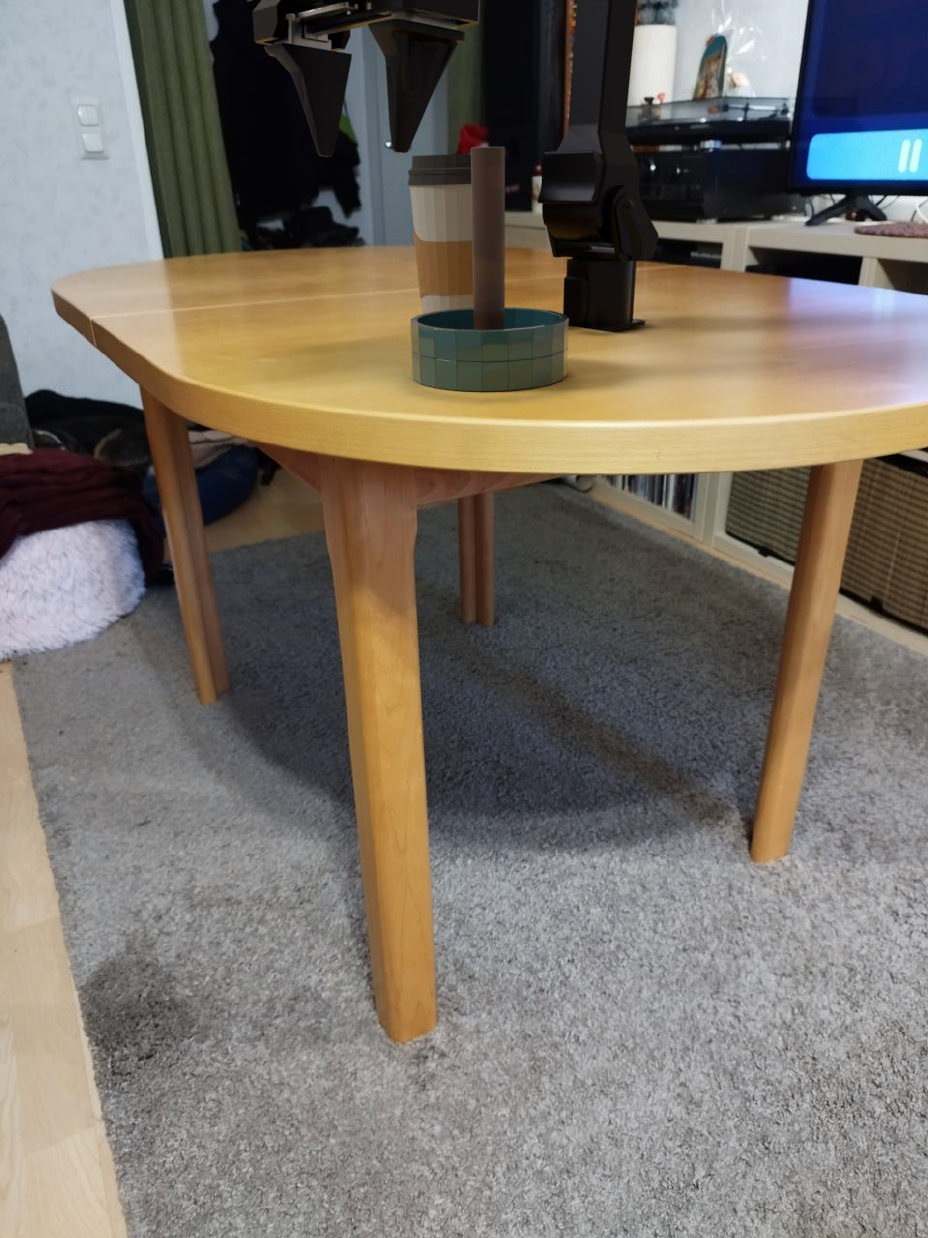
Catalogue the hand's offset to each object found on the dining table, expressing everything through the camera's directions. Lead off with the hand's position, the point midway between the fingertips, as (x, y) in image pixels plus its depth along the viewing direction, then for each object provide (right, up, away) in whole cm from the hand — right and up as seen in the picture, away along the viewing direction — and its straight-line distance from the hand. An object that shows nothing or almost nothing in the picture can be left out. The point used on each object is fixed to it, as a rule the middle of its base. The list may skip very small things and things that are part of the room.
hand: (361, 154), depth 64 cm
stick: (+9, -16, 0) cm, 18 cm away
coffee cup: (+7, -6, +21) cm, 23 cm away
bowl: (+9, -16, +1) cm, 19 cm away
